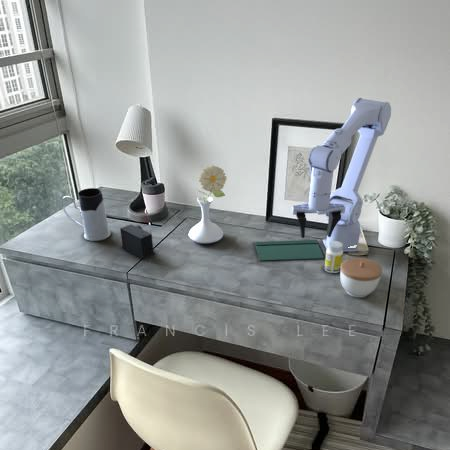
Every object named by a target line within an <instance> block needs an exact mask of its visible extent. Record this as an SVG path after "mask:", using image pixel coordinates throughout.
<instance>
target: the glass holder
mask: <svg viewBox="0 0 450 450" xmlns="http://www.w3.org/2000/svg"><path fill="white" fill-rule="evenodd" d="M77 196H78V202H79V206H77V203H76V200H75V199H74V198H73V197H72V196H70V195H65V196H63V197H62V198H61V201H60V203H61V204H60V205H61V208H62V210H63V212H64V214H65V215H66V216H67V217H68V218H69V220H71V221H73V222H74V223H76V224H77V225H78V226H80V227H81V228H82V229H83V231H84V234H83V238H84V239H85V240H87V241H90V242H99V241H103V240H106V239H108V238H109V237H110V236H111V231H110V229H109V225H108V218H107V217H108V216H107V212H106V205H105V200H104V196H103V190H101V189H100V188H96V187H89V188H84V189H81V190H79V191H78V192H77ZM65 198H68V199H70V200H71V201H72V202H73V205H74V208H75V209H76V210H80V211H79V212H80V215H81V216H80V217H81V222H82V224H81V223H80V222H79V221H77V220H76V219H74V218H73V217H71V215H69V213H68V212H67V211H66V208H65V206H64V201H63V200H64V199H65Z"/></svg>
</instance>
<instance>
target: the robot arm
mask: <svg viewBox="0 0 450 450" xmlns="http://www.w3.org/2000/svg"><path fill="white" fill-rule="evenodd" d="M391 116H392V106H391V103H390V102H389V101H378V100H373V99H367V98H362V97H358V98H356V100H354V102H353V104H352V106H351V110H350V115H349V116H348V118H347V119H346V121H345V122H344V124H343V125H342V126H341V127H340V128H336V129H334V130H333V131H332V132H331V133H330V135H328V137H327V138H326V139H325V140H324V141H323V143H322V144H321V145H316V146H314V147H313V148H312V149H311V150H310V152H309V156H308V158H307V160H308V161H307V163H308V164H307V165H308V166H309V174H310V186H309V194H308V195H309V197H308V202H307V203H302V204H295V205H291V213H292V215H294V216H296V219H297V221H298V225H299V231H300V237H301V238H302V239H305V234H306V223H307V219H308V218H307V217H306V216H307V215H306V214H317V215H325V216H326V220H327V227H326V235H327V236H326V238H324V239H322V242H323V245H324V246H325V247H324V248H325V249H326V250H327V249H328V245H329V242H331V241H338V242H341V243H342V244H343V248H342V250H343V253H346V252H347V253H349V252H358V251H359V250H358V247H357V248H348V247H350V246H354V245H358V246H359V241H360V234H361V224H360V221H359V219H360V216H361V214H362V208H363V204H364V200H363V198H362V197H361V195H360V193H359V189H360V185H361V183H362V180H363V177H364V175H365V172H366V170H367V167H368V164H369V162H370V160H371V156H372V154H373V151H374V149H375V146H376V143H377V141H378V139H379V137H381V136H383V135H385V131H386V130H387V127H388V125H389V122H390V119H391ZM356 133H359V137H358V141H357V144H356V146H355V149H354V152H353V155H352V157H351V159H350V163H349V165H348V168H347V171H346V174H345V176H344V178H343V181H342V184H341V187H338V188H337V189H335V190H332V186H333V179H334V171H335V170H337V168H338V166H339V163H340V160H341V159H342V155H343V154H344V153H345V152H346V150H347V149H348V148H349V147H350V145H351V144H352V137H353V136H355V134H356Z"/></svg>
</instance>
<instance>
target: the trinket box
mask: <svg viewBox="0 0 450 450" xmlns="http://www.w3.org/2000/svg"><path fill="white" fill-rule="evenodd" d="M382 274H383V267H382V266H381V264H379V263H378V262H377V261H375V260H372V259H370V258H366V257H357V256H356V257H349V258H346V259H345V260H344V259H343V260H342V264H341V270H340V272H339V278H340V279H339V280H340V284H341V286H342V288H343V289H344V291H345V292H346V293H347V294H348V296H351V297H353V298H366V297H367V296H368V295H370V294H372V293H373V292H374V291H375V290H376V289H377V287H378V285H379V283H380V281H381V277H382Z"/></svg>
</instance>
